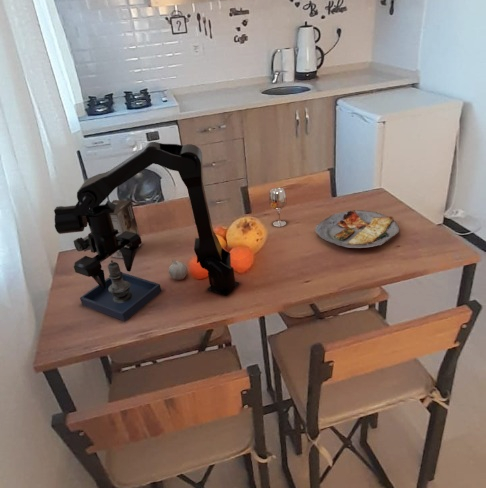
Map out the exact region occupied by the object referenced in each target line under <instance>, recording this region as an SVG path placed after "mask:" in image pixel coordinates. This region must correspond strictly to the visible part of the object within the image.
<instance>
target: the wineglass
mask: <svg viewBox="0 0 486 488" xmlns="http://www.w3.org/2000/svg"><path fill="white" fill-rule="evenodd" d="M287 198H288V197H287V194H286V191H285V189H284V188H282V187H274V188H272V189H270V190H269V195H268V203H269V206H270V207H271V208H272V209H274V210H276V212H277V217H278V219H277V220H275V221H274V222H273V223H272V225H273V226H274V227H276V228H277V227H278V228H281V227H284V226H286V225H287V222H286V221H285V220H281V216H280V215H281V209H284V208H285V207H286V206H287V202H288V201H287Z"/></svg>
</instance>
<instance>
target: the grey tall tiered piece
mask: <svg viewBox="0 0 486 488" xmlns="http://www.w3.org/2000/svg"><path fill="white" fill-rule="evenodd" d="M107 270H108V273H109V275H108V278H111V281H112V284H111V285H110V286H109V288H108V290H109V292H111V294H112V295H113V296H114V297H113V301H114V302H115V303H123V302H126V301H128V300H129V299H130V298H131V297H132V294H131V293H130V292H129V289H130V283H129V282H128V281H124V280H123V277H122V275H123V273H124V272H122V271H121V268H120V264H119V263H118V262H117V261H114V260H112V259H110V263H109V264H108V265H107Z"/></svg>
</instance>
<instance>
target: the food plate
mask: <svg viewBox="0 0 486 488" xmlns="http://www.w3.org/2000/svg"><path fill="white" fill-rule="evenodd" d="M314 230H315V233H316V235H318V236H319V238H321V239H323V240H324V241H326V242H329V243H331V244H334V245H335V246H341V247H344V248H351V249H362V248H364V249H365V248H372V247H377V246H378V247H379V246H381V245H383V244H385V243H386V242H388V241H389V240H391V239H392V238H393V237H394V236H396V235H397V234H398V233H399V232H400V226H399V225H398V224H397V221H396V220H395V219H394V216H388V215H385V214H382V213H379V212H377V211H370V210H355V209H353V210H347V211H341V212H338V213H333V214H332V215H329V216H328V217H326V218H325V219H323V220H321V221H320V222H319V223H317V224H316V226H315V229H314Z"/></svg>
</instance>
